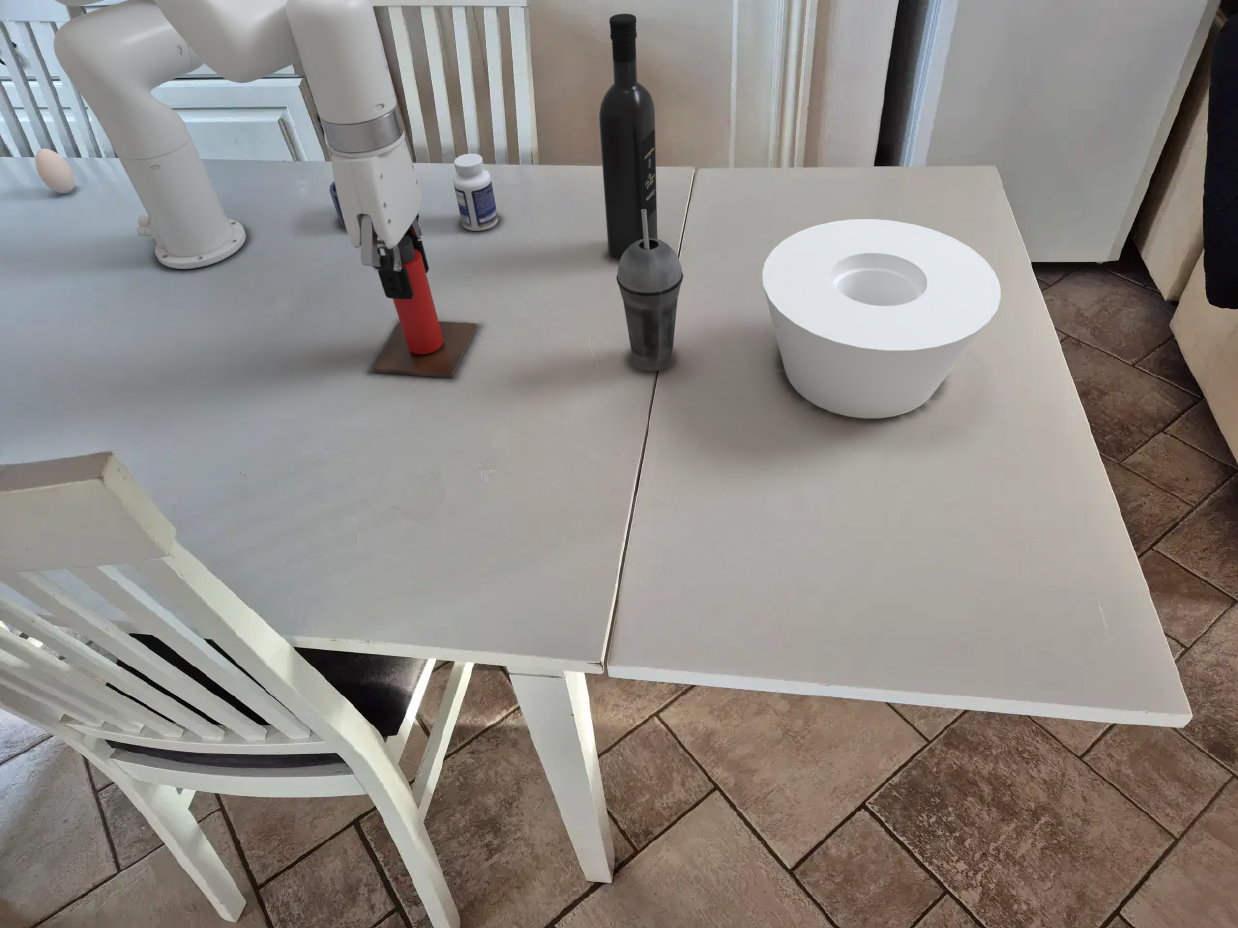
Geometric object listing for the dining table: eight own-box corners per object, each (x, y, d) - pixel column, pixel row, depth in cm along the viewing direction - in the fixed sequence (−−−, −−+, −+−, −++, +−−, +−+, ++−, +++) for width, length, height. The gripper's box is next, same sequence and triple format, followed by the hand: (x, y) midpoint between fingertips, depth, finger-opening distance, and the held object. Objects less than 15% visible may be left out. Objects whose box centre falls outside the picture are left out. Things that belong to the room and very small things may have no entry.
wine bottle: (660, 245, 114) (655, 11, 92) (643, 266, 110) (635, 28, 89) (623, 238, 116) (610, 7, 94) (606, 258, 112) (588, 23, 90)
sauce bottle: (402, 353, 98) (370, 252, 88) (414, 331, 101) (385, 230, 91) (436, 355, 98) (408, 253, 88) (448, 333, 101) (422, 232, 90)
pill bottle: (501, 213, 122) (491, 150, 115) (494, 232, 119) (482, 168, 111) (467, 213, 123) (454, 151, 116) (458, 232, 119) (444, 169, 112)
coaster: (373, 372, 98) (372, 368, 97) (402, 322, 104) (401, 318, 104) (452, 378, 96) (451, 374, 96) (477, 327, 103) (476, 323, 102)
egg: (86, 191, 135) (62, 148, 129) (58, 202, 132) (32, 159, 127) (75, 182, 137) (51, 140, 132) (47, 193, 135) (21, 150, 130)
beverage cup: (690, 345, 98) (691, 191, 83) (673, 384, 93) (671, 227, 79) (632, 336, 100) (624, 183, 85) (613, 373, 95) (601, 218, 81)
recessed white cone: (961, 461, 82) (994, 370, 74) (731, 415, 89) (737, 326, 80) (977, 324, 98) (1006, 235, 89) (779, 293, 104) (788, 207, 96)
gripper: (360, 91, 86) (403, 243, 100) (290, 166, 75) (348, 326, 88) (427, 92, 85) (461, 246, 98) (366, 168, 74) (414, 330, 87)
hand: (407, 282), depth 93 cm, fingers closed on sauce bottle, 4 cm apart
